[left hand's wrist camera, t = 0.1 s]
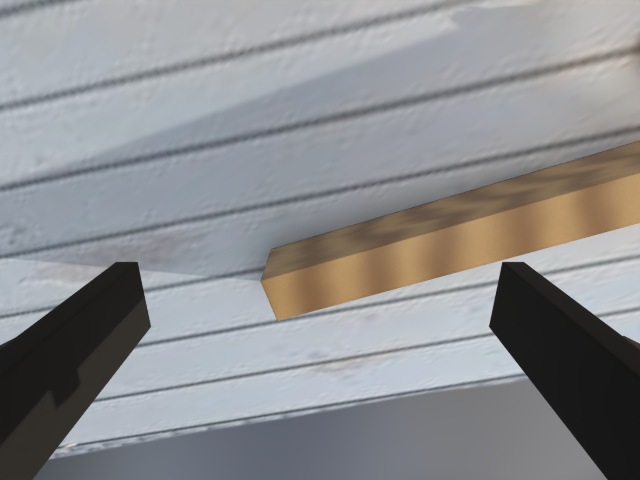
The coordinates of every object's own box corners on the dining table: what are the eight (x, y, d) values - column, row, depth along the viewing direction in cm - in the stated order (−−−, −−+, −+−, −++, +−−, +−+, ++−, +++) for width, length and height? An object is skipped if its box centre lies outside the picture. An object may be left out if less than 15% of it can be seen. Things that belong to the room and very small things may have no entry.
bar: (284, 283, 44) (277, 321, 36) (271, 249, 42) (260, 280, 34) (998, 82, 36) (1187, 75, 28) (1017, 29, 34) (1224, 5, 26)
